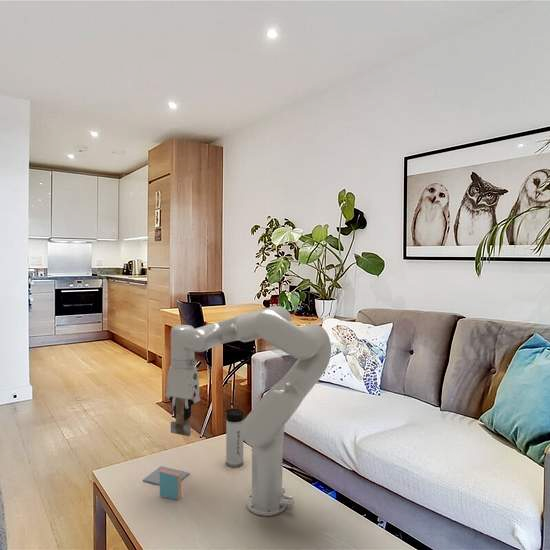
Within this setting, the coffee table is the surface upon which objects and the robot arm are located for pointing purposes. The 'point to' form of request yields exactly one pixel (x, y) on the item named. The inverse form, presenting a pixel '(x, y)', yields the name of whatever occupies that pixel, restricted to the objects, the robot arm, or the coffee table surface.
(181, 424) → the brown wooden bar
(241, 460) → the travel mug
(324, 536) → the coffee table surface
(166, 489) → the tile
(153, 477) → the mat
